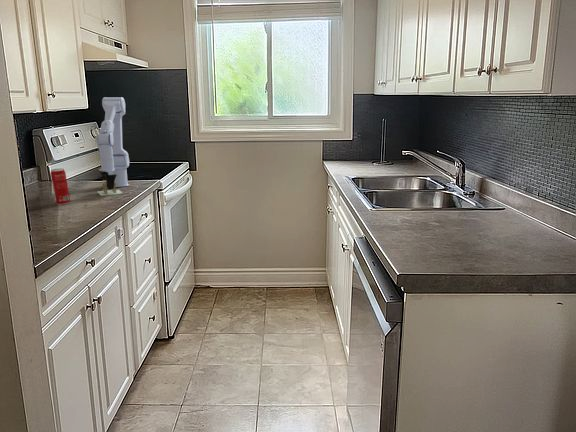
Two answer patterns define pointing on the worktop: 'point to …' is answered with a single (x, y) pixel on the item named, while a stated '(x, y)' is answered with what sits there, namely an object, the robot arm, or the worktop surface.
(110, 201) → the worktop surface
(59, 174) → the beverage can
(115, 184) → the stool
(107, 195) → the mat
